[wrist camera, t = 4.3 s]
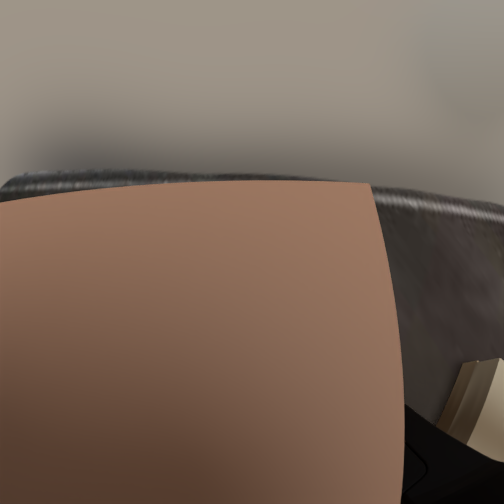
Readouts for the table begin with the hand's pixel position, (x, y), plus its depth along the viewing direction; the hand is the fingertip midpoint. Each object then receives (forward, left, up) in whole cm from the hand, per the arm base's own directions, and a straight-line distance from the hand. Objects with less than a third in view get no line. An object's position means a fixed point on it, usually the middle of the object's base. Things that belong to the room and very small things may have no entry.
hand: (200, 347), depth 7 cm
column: (-1, -1, -7) cm, 7 cm away
